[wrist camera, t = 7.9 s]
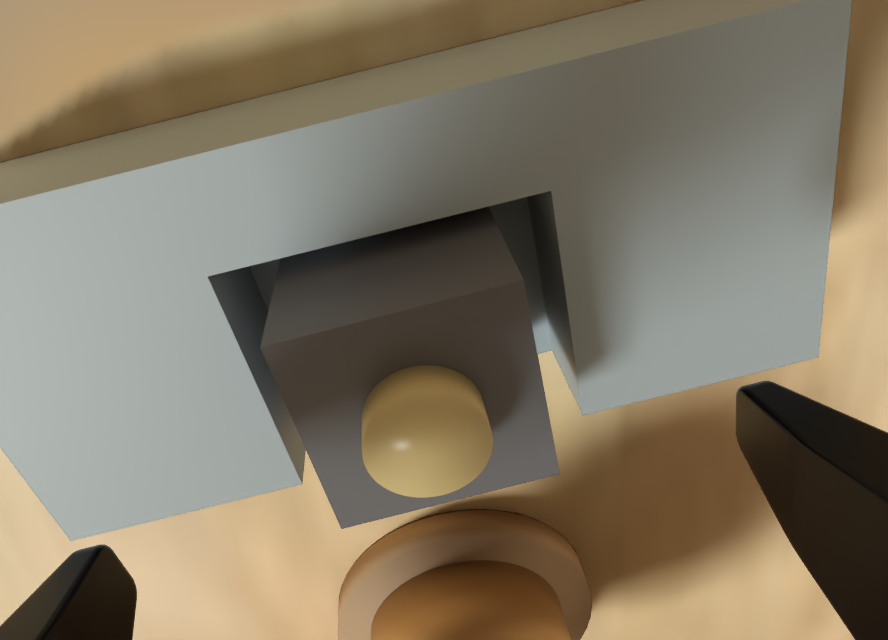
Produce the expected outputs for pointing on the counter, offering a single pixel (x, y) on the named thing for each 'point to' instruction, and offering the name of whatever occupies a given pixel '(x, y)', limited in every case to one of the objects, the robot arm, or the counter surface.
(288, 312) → the block
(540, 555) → the bobbin
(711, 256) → the notch board
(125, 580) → the robot arm
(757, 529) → the counter surface
